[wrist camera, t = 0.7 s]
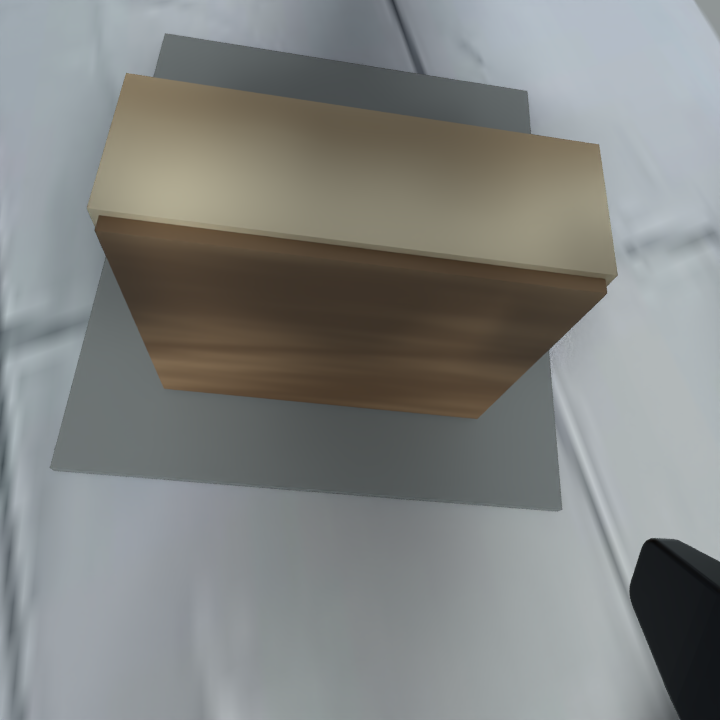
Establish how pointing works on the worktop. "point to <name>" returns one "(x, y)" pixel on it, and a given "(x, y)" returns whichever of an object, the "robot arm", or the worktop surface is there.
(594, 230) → the maple slab
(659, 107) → the worktop surface
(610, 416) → the worktop surface
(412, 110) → the rubber mat
